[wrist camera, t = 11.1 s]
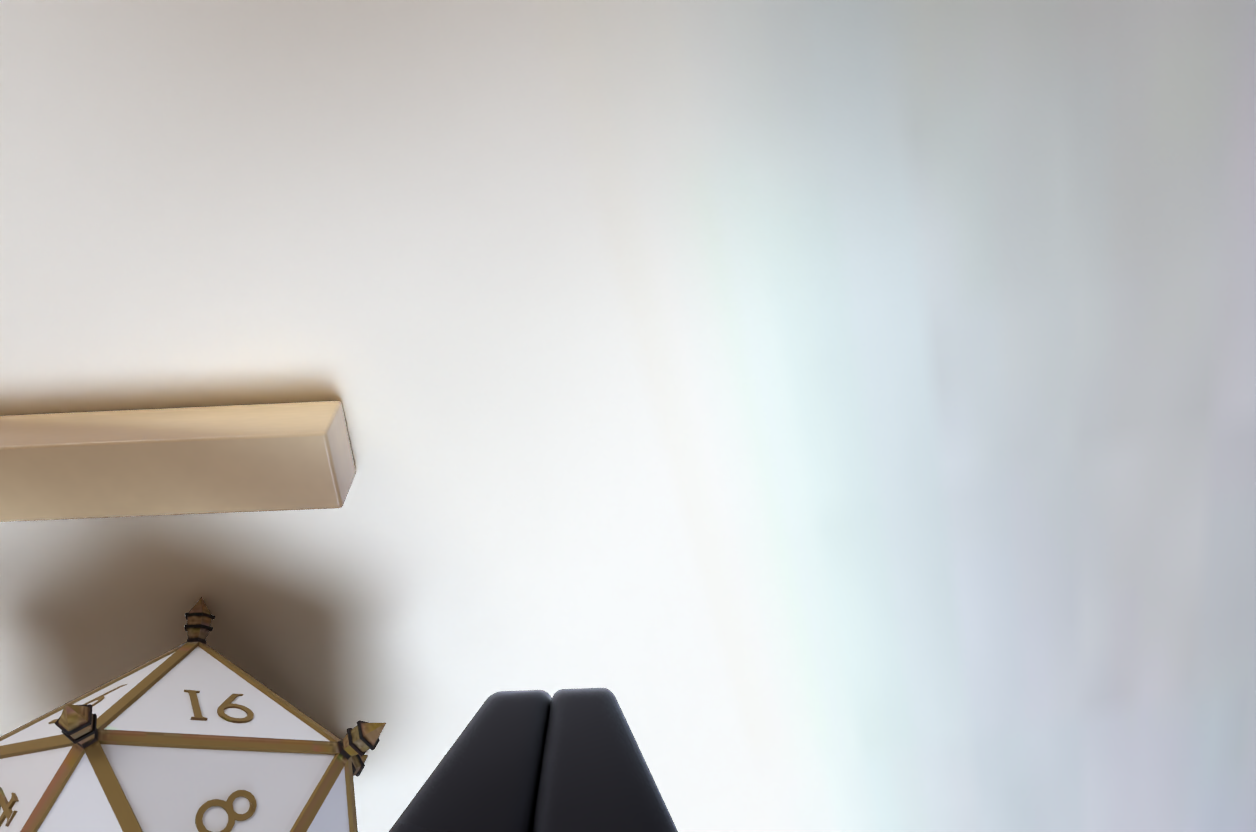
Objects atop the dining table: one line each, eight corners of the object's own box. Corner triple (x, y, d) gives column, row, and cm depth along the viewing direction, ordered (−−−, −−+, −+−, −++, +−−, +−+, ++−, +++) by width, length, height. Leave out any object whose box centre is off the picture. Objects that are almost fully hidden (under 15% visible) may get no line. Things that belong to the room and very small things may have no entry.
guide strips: (460, 968, 29) (454, 1013, 28) (113, 978, 29) (94, 1022, 28) (342, 398, 20) (326, 432, 19) (-142, 420, 21) (-184, 454, 20)
